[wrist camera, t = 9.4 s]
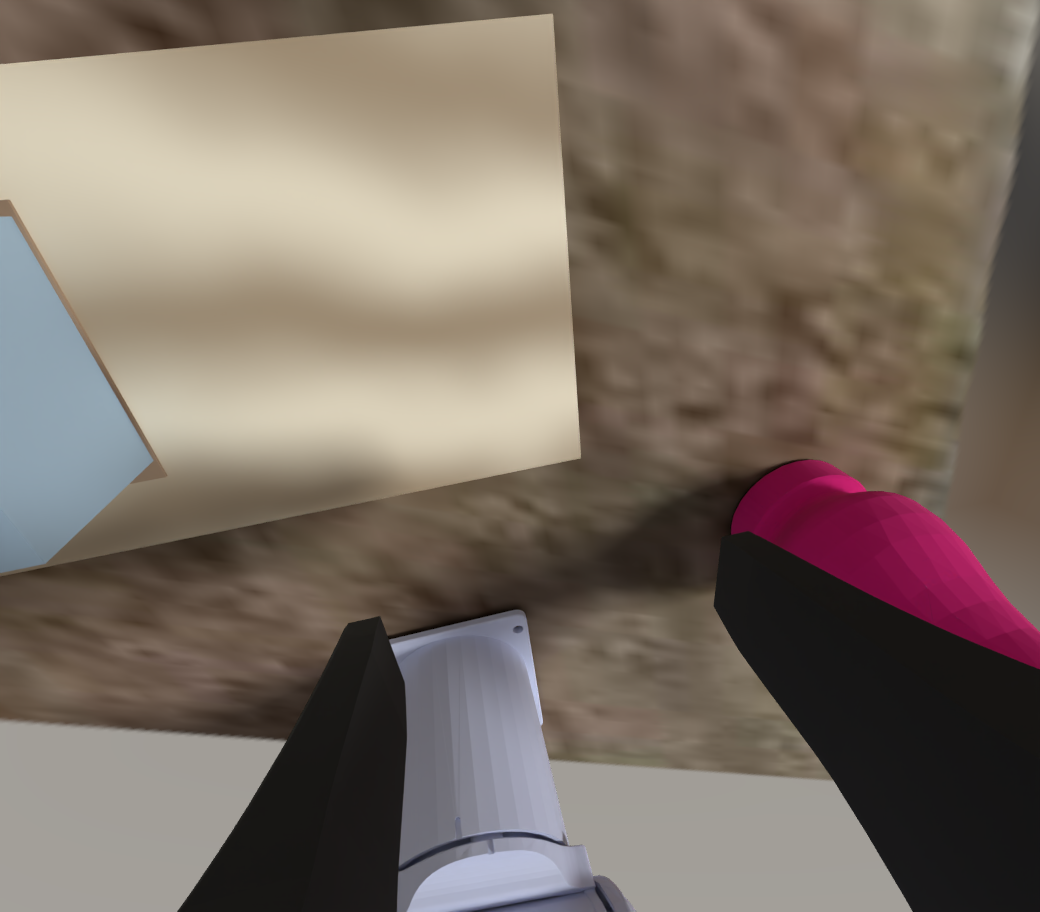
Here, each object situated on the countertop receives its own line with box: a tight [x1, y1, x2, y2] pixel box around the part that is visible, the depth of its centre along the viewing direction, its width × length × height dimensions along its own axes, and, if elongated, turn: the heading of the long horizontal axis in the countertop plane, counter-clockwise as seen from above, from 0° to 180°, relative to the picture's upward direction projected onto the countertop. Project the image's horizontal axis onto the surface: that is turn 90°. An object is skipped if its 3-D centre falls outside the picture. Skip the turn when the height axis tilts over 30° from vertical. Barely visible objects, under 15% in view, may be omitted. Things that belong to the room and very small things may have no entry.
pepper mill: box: [731, 460, 1040, 669], centre depth 15 cm, size 7×7×20 cm
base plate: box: [0, 14, 581, 576], centre depth 12 cm, size 13×22×6 cm, turn 97°
